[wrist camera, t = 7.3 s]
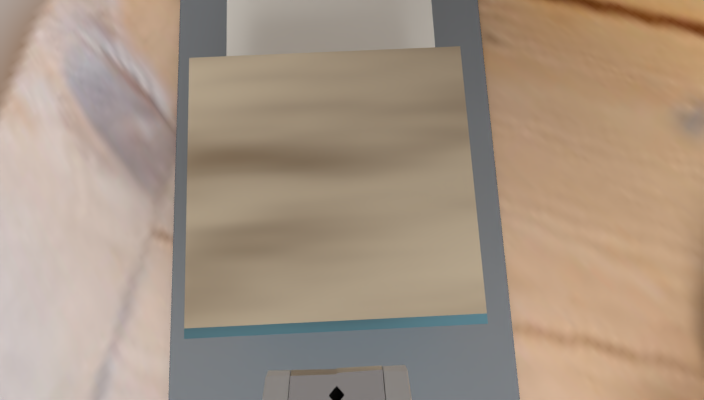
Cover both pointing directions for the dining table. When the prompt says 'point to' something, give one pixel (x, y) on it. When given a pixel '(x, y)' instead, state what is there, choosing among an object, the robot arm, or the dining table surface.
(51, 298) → the dining table surface
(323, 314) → the maple cube
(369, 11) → the charcoal mat
